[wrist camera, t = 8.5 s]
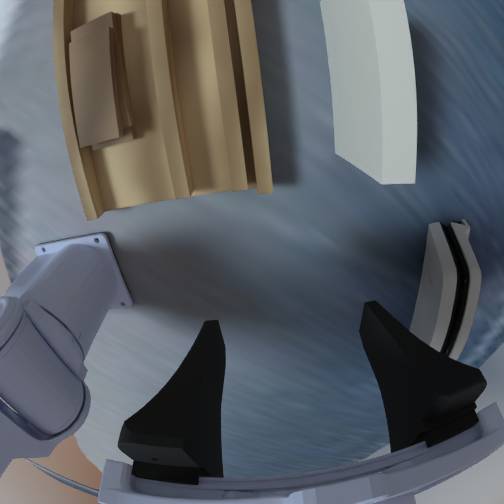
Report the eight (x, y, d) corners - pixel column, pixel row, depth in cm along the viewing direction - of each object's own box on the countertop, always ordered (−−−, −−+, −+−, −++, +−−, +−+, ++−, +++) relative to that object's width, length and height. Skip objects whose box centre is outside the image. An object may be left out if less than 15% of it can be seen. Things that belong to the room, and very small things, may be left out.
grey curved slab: (437, 332, 30) (445, 397, 22) (405, 333, 32) (407, 399, 24) (465, 215, 22) (503, 276, 14) (424, 214, 23) (452, 277, 16)
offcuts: (95, 149, 18) (82, 155, 16) (79, 32, 13) (65, 28, 11) (140, 136, 17) (129, 141, 16) (125, 13, 12) (113, 6, 11)
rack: (99, 209, 21) (85, 222, 19) (68, -5, 11) (52, -11, 9) (270, 183, 20) (273, 194, 18) (239, -55, 10) (239, -71, 8)
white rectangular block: (334, 152, 19) (381, 184, 12) (319, 2, 13) (357, -42, 6) (359, 152, 19) (414, 183, 12) (345, 4, 13) (394, -34, 6)
